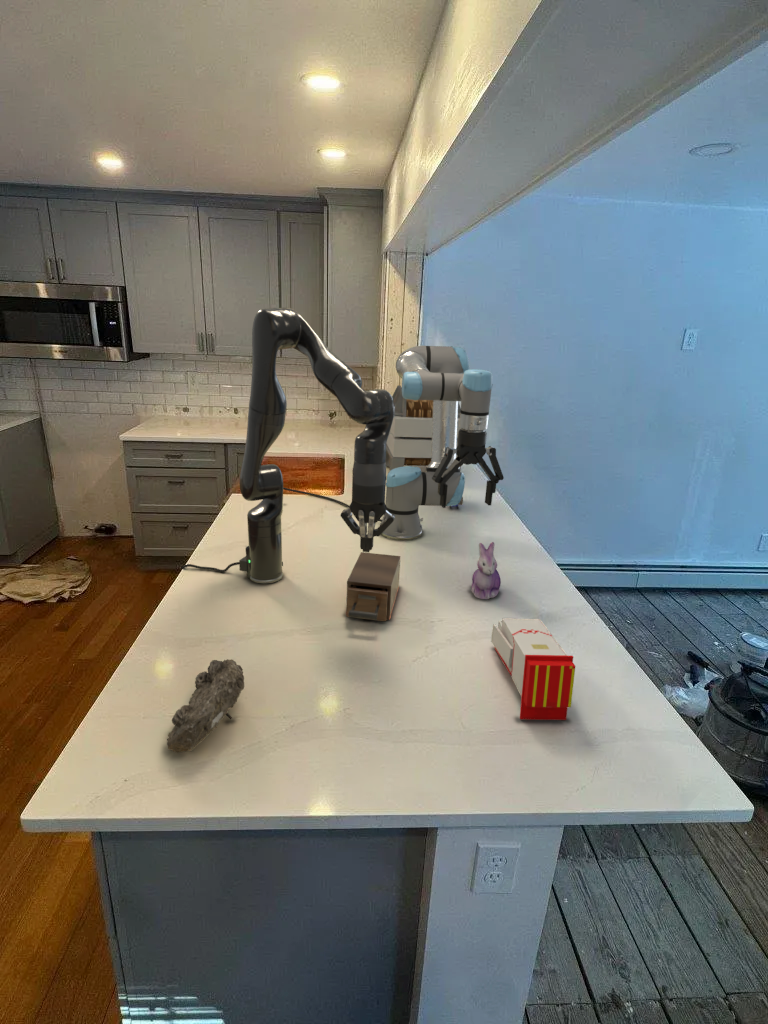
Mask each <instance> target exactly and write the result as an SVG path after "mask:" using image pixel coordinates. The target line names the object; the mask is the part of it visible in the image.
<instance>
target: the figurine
mask: <svg viewBox="0 0 768 1024" xmlns="http://www.w3.org/2000/svg"><path fill="white" fill-rule="evenodd" d="M478 550H479V558H478V560H477V563H476V566H477V569H476V570H475V571H473V574H472V577H471V587H470V588H471V589H470V590H471V593H472V594H473V595H474V597H475V598H477V599H481V600H489V599H490V598H492V599H493V598H495V597H497V596H498V594H499V592H500V588H501V586H502V585H501V584H502V580H501V575H500V573H499V570H498V569H497V568H498V562H497V560H496V557H495V555H494V551H495V542H494V541H491V542H490V543H489V545H488V546H487V548H486V547H485V545H484V544H483V543H482V542H479V544H478Z"/></svg>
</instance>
